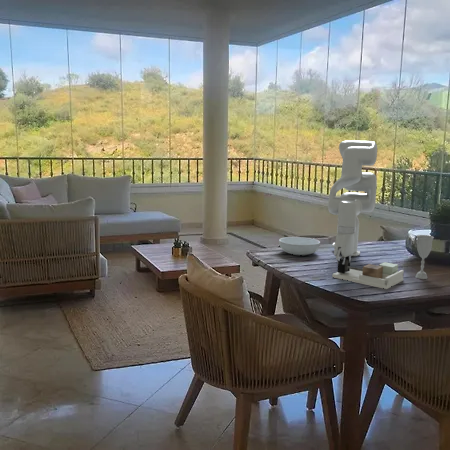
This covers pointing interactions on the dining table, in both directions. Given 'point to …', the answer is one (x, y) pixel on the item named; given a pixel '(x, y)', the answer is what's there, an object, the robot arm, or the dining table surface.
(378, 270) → the joystick
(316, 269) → the dining table surface
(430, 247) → the chalice
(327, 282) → the dining table surface
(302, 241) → the serving bowl
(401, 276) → the white joystick tray
